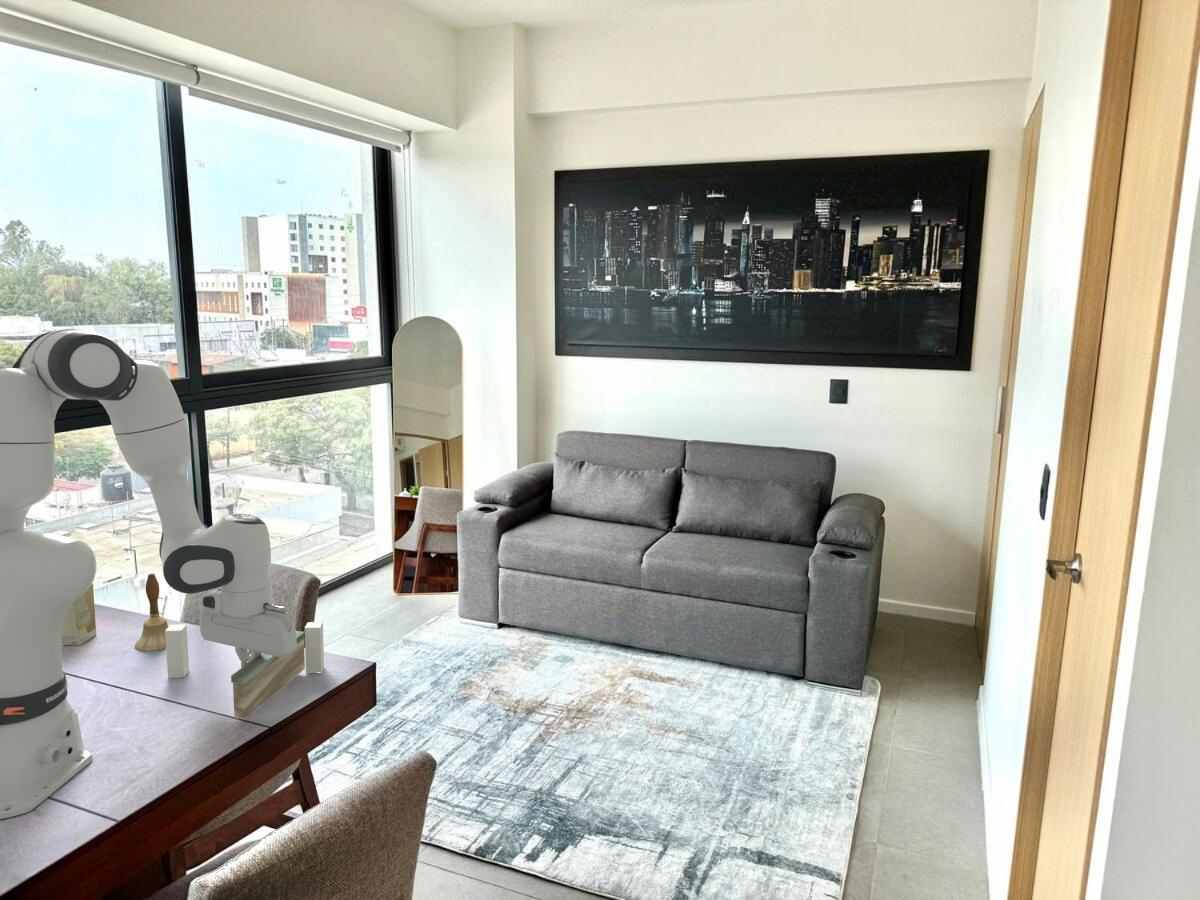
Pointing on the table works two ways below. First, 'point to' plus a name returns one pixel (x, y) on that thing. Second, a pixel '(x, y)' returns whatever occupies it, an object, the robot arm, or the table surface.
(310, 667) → the gate posts
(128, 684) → the table surface
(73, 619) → the skincare box
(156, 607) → the hand bell
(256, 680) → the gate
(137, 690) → the table surface
